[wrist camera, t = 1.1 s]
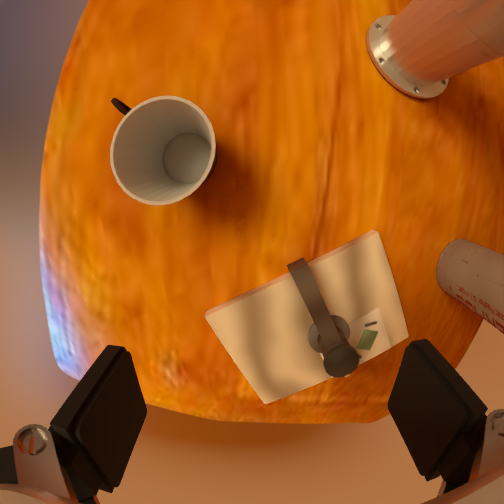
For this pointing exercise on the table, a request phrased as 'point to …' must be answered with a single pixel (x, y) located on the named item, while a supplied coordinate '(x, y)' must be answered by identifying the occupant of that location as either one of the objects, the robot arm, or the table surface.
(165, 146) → the coffee mug
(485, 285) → the thermos bottle
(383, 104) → the table surface
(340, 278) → the beige flat slab
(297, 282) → the grey door handle
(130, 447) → the robot arm
